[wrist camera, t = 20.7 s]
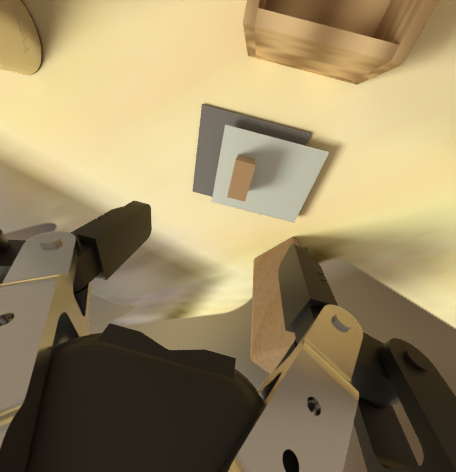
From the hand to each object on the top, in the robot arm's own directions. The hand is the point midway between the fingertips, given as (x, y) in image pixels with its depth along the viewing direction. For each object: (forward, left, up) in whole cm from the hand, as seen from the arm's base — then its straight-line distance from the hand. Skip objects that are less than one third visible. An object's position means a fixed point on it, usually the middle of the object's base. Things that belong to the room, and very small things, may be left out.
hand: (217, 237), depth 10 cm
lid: (+3, -1, -22) cm, 22 cm away
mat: (0, 0, -22) cm, 22 cm away
